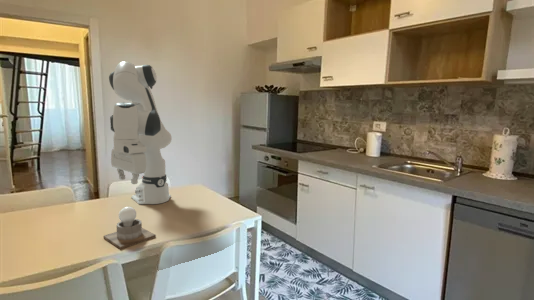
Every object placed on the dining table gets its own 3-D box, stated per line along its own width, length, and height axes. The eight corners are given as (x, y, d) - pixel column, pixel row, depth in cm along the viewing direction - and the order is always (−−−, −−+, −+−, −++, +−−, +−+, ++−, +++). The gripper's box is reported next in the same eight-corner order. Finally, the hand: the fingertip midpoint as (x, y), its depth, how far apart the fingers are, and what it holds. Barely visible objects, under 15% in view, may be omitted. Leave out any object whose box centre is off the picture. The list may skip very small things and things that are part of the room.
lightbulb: (119, 238, 116) (118, 210, 114) (119, 231, 121) (118, 205, 120) (137, 235, 119) (136, 208, 117) (136, 229, 124) (135, 203, 123)
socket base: (103, 238, 118) (102, 223, 117) (137, 227, 129) (137, 214, 128) (120, 249, 109) (119, 233, 108) (155, 237, 120) (155, 222, 119)
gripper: (105, 143, 118) (107, 178, 120) (132, 149, 105) (133, 188, 107) (122, 142, 123) (123, 175, 125) (149, 148, 110) (149, 184, 112)
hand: (128, 181), depth 116 cm, fingers open, 8 cm apart
